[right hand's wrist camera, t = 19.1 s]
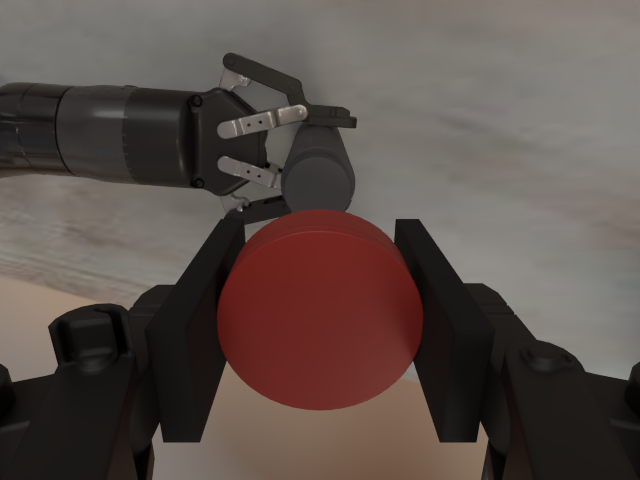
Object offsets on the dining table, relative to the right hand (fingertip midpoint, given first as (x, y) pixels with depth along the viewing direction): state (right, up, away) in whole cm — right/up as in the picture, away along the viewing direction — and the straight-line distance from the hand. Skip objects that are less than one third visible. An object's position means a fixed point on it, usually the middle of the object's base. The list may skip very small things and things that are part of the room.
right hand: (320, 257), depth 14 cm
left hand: (+3, +8, +20) cm, 22 cm away
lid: (0, -1, -4) cm, 4 cm away
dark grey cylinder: (0, +10, +26) cm, 28 cm away
